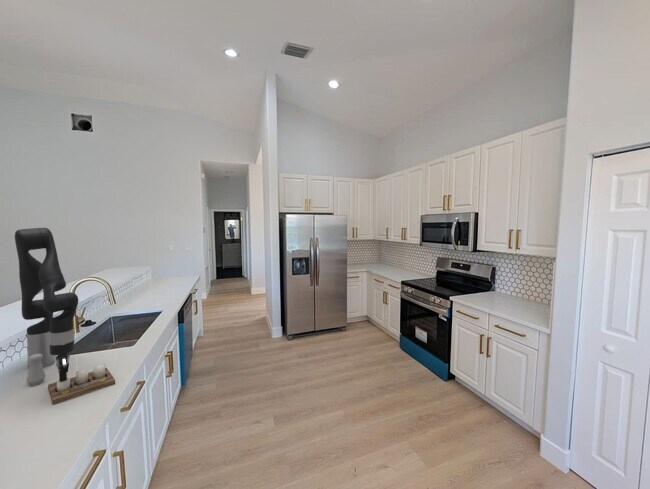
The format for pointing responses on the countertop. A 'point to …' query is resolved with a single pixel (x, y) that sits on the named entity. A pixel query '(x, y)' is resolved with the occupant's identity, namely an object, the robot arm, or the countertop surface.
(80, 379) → the button
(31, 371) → the salt shaker
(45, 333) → the robot arm
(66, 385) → the white domed cylinder
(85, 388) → the board
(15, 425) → the countertop surface
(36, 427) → the countertop surface
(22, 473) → the countertop surface
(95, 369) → the button
